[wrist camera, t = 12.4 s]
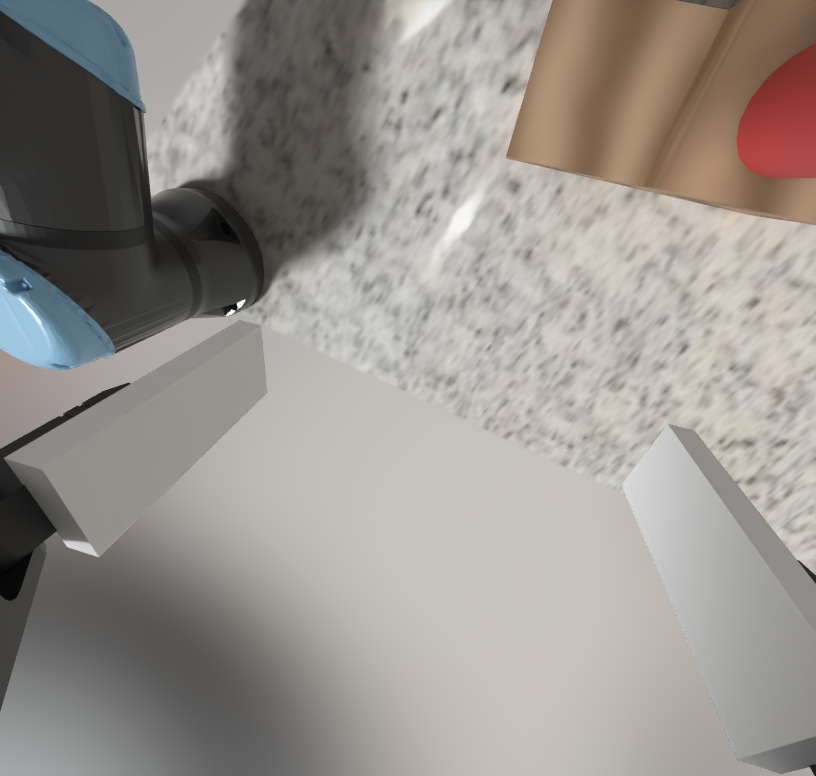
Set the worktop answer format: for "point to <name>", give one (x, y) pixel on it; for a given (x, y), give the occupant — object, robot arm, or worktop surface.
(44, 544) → the robot arm
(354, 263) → the worktop surface
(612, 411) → the worktop surface
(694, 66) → the step stand
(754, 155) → the beer can
